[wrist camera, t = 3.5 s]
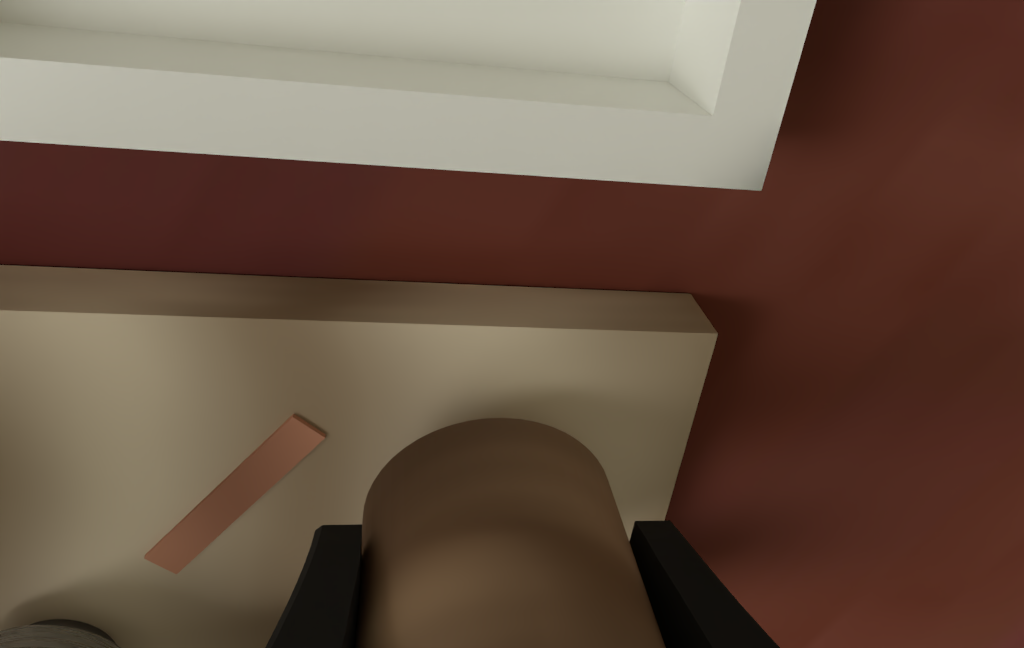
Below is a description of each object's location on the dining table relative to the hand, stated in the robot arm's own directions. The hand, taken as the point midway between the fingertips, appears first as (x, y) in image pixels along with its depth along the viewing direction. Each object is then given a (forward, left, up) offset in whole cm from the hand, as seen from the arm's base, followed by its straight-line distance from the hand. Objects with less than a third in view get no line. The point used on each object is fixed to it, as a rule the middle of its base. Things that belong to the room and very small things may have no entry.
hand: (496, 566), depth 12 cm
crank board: (-4, -3, -4) cm, 6 cm away
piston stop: (0, 0, -1) cm, 1 cm away
